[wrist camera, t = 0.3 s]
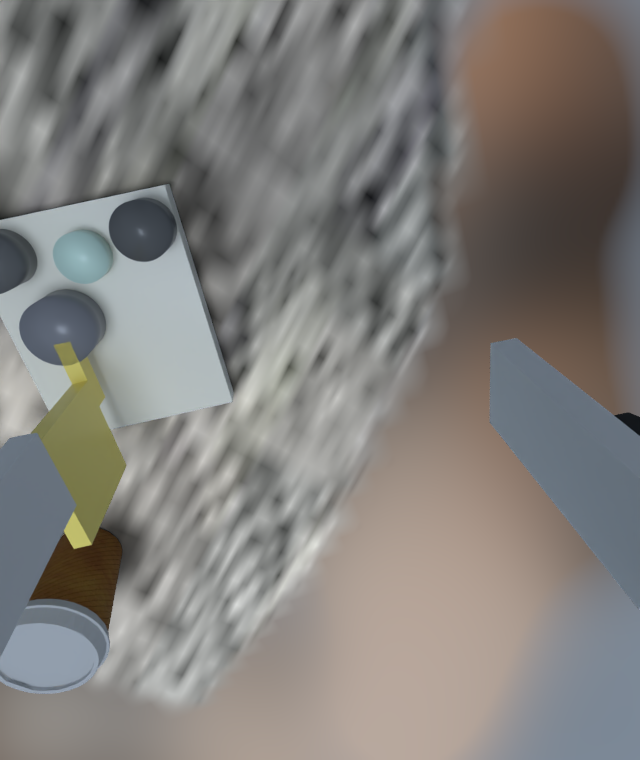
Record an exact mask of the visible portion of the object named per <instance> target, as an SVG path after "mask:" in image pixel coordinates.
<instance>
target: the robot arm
mask: <svg viewBox="0 0 640 760" xmlns="http://www.w3.org/2000/svg"><path fill="white" fill-rule="evenodd" d="M490 423H491V425H492V426H493V427H494V428H495V430H496V431H497V432H498V433H499V435H500V436H501V437H502V438H503V440H504V441H505V442H506V444H507V445H508V446H509V447H510V449H511V450H512V451H513V452H514V454H515V455H516V456H517V457H518V459H519V460H520V461H521V462H522V463H523V465H524V466H525V467H526V469H527V470H528V471H529V472H530V473H531V475H532V476H533V477H534V479H535V480H536V481H537V482H538V484H539V485H540V486H541V487H542V489H543V490H544V491H545V492H546V494H547V495H548V496H549V497H550V499H551V500H552V501H553V503H554V504H555V505H556V506H557V508H558V509H559V510H560V511H561V513H562V514H563V515H564V516H565V518H566V519H567V520H568V521H569V523H570V524H571V525H572V526H573V528H574V529H575V530H576V531H577V533H578V534H579V535H580V536H581V538H582V539H583V540H584V541H585V543H586V544H587V545H588V547H589V548H590V549H591V550H592V552H593V553H594V554H595V555H596V557H597V558H598V559H599V560H600V562H601V563H602V564H603V565H604V566H605V568H606V569H607V570H608V572H609V573H610V574H611V575H612V577H613V578H614V579H615V580H616V582H617V583H618V584H619V585H620V587H621V588H622V589H623V590H624V592H625V593H626V594H627V595H628V597H629V598H630V599H631V600H632V602H633V603H634V604H635V605H636V607H637V608H638V609H639V610H640V417H638V416H636V415H633V414H631V413H623V414H618V415H613V414H611V413H610V412H609V411H608V410H606V409H605V408H604V407H603V406H601V405H600V404H599V403H598V402H596V401H595V400H594V399H592V398H591V397H590V396H589V395H587V394H586V393H585V392H584V391H582V390H581V389H580V388H579V387H577V386H576V385H575V384H573V383H572V382H571V381H570V380H569V379H567V378H566V377H565V376H563V375H562V374H561V373H559V372H558V371H557V370H556V369H555V368H553V367H552V366H551V365H550V364H548V363H547V362H546V361H544V360H543V359H542V358H541V357H540V356H538V355H537V354H536V353H534V352H533V351H532V350H531V349H529V348H528V347H527V346H526V345H524V344H523V343H522V342H521V341H519V340H518V339H517V338H515V339H510V340H505V341H500V342H495V343H491V353H490ZM76 506H77V505H76V503H75V501H74V499H73V498H72V496H71V494H70V492H69V490H68V488H67V487H66V485H65V483H64V481H63V479H62V478H61V476H60V474H59V472H58V470H57V468H56V467H55V465H54V463H53V461H52V459H51V457H50V456H49V454H48V452H47V450H46V448H45V446H44V445H43V443H42V441H41V439H40V437H39V435H38V434H37V433H33V434H28V435H22V436H17V437H12V438H9V440H8V441H7V442H6V443H5V444H4V446H3V447H2V448H1V449H0V657H1V655H2V653H3V651H4V649H5V647H6V645H7V643H8V641H9V639H10V637H11V635H12V633H13V631H14V629H15V627H16V625H17V623H18V621H19V619H20V617H21V615H22V613H23V611H24V609H25V607H26V605H27V603H28V601H29V599H30V597H31V595H32V593H33V591H34V589H35V587H36V585H37V583H38V581H39V579H40V577H41V575H42V573H43V571H44V569H45V567H46V565H47V563H48V561H49V559H50V557H51V555H52V553H53V551H54V549H55V547H56V545H57V543H58V541H59V539H60V537H61V535H62V533H63V531H64V529H65V527H66V525H67V523H68V521H69V520H70V518H71V516H72V514H73V512H74V510H75V508H76Z"/></svg>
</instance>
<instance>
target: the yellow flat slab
mask: <svg viewBox="0 0 640 760" xmlns="http://www.w3.org/2000/svg"><path fill="white" fill-rule="evenodd" d="M105 330H106V321H105V317H104V314H103V312H102V310H101V308H100V307H99V305H98V304H97V303H96V302H95V301H94V300H93V299H91V298H90V297H89V296H87V295H85V294H83V293H81V292H78V291H75V290H68V289H63V290H57V291H54V292H52V293H50V294H48V295H46V296H45V297H43V298H42V299H40V300H38V301H37V302H35V303H34V304H32V305H30V306H29V307H28V308H27V309H26V310H25V311H24V312H23V314H22V316H21V319H20V323H19V331H20V336H21V338H22V341H23V343H24V344H25V346H26V347H27V349H28V350H29V351H30V352H31V353H32V354H33V355H35V356H36V357H37V358H39V359H41V360H42V361H44V362H47V363H50V364H53V365H60V366H64V368H65V371H66V373H67V375H68V377H69V379H70V381H71V383H72V385H71V386H70V387H69V389H68V390H67V391H66V392H65V393H64V394H63V396H62V397H61V398H60V399H59V400H58V402H57V403H56V404H55V405H54V406H53V408H52V409H51V410H50V411H49V412H48V413H47V415H46V416H45V417H44V418H43V419H42V421H41V422H40V423H39V424H38V425H37V427H36V428H35V429H34V430H33V431H32V432H31V434H33V433H37V434H38V435H39V437H40V439H41V441H42V443H43V445H44V446H45V448H46V450H47V452H48V454H49V456H50V457H51V459H52V461H53V463H54V465H55V467H56V468H57V470H58V472H59V474H60V476H61V478H62V479H63V481H64V483H65V485H66V487H67V488H68V490H69V492H70V494H71V496H72V498H73V499H74V501H75V503H76V505H77V506H76V508H75V510H74V512H73V514H72V516H71V518H70V520H69V521H68V523H67V525H66V527H65V529H64V533H65V534H66V536H67V538H68V540H69V541H70V543H71V545H72V547H73V548H74V549H76V548H80V547H84V546H89V545H92V543H93V541H94V539H95V536H96V534H97V532H98V530H99V527H100V525H101V523H102V520H103V518H104V516H105V514H106V511H107V509H108V507H109V504H110V502H111V500H112V497H113V495H114V493H115V491H116V488H117V486H118V484H119V481H120V479H121V477H122V475H123V472H124V470H125V468H126V463H125V461H124V459H123V457H122V455H121V452H120V450H119V448H118V446H117V444H116V441H115V439H114V437H113V435H112V433H111V431H110V428H109V426H108V424H107V422H106V420H105V417H104V415H103V413H102V411H101V409H100V407H99V406H100V404H101V403H102V401H103V400H104V398H105V395H104V393H103V391H102V388H101V386H100V384H99V382H98V379H97V377H96V375H95V373H94V370H93V368H92V366H91V364H90V361H89V359H88V357H87V356H88V355H89V354H90V352H91V351H92V350H93V349H94V348H95V347H96V346H97V344H98V343H99V342H100V341H101V340H102V338H103V336H104V334H105Z"/></svg>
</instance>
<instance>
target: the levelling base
mask: <svg viewBox="0 0 640 760" xmlns="http://www.w3.org/2000/svg"><path fill="white" fill-rule="evenodd" d="M63 289H68V290H75V291H78V292H81V293H83V294H85V295H87V296H89V297H90V298H91V299H93V300H94V301H95V302H96V303H97V304H98V305H99V307H100V308H101V310H102V312H103V314H104V317H105V321H106V330H105V334H104V336H103V338H102V340H101V341H100V342H99V343H98V344H97V346H96V347H95V348H94V349H93V350H92V351H91V352H90V354H89V355H88V356H87V357H88V359H89V361H90V364H91V366H92V368H93V370H94V373H95V375H96V377H97V379H98V382H99V384H100V386H101V388H102V391H103V393H104V395H105V398H104V400H103V401H102V403H101V404H100V406H99V407H100V409H101V411H102V413H103V415H104V417H105V420H106V422H107V424H108V426H109V428H110V430H111V429H116V428H120V427H124V426H129V425H133V424H138V423H142V422H146V421H151V420H155V419H160V418H164V417H168V416H173V415H177V414H182V413H186V412H190V411H195V410H199V409H204V408H208V407H212V406H217V405H221V404H225V403H230V402H233V393H234V392H233V388H232V385H231V382H230V379H229V375H228V372H227V369H226V366H225V362H224V359H223V356H222V353H221V349H220V346H219V343H218V340H217V336H216V333H215V330H214V327H213V324H212V320H211V317H210V314H209V311H208V307H207V304H206V301H205V298H204V294H203V291H202V288H201V285H200V281H199V278H198V275H197V272H196V268H195V265H194V262H193V259H192V256H191V252H190V249H189V246H188V243H187V239H186V236H185V233H184V230H183V226H182V223H181V220H180V217H179V213H178V210H177V207H176V204H175V201H174V197H173V194H172V191H171V188H170V184H166V185H161V186H157V187H152V188H147V189H143V190H138V191H133V192H129V193H124V194H119V195H115V196H110V197H105V198H101V199H96V200H91V201H87V202H82V203H77V204H73V205H68V206H63V207H59V208H54V209H49V210H45V211H40V212H35V213H31V214H26V215H21V216H17V217H12V218H7V219H3V220H0V317H1V319H2V321H3V323H4V325H5V326H6V328H7V330H8V332H9V334H10V336H11V338H12V340H13V342H14V344H15V346H16V348H17V350H18V352H19V354H20V356H21V358H22V359H23V361H24V363H25V365H26V367H27V369H28V371H29V373H30V375H31V377H32V379H33V381H34V383H35V385H36V387H37V389H38V391H39V392H40V394H41V396H42V398H43V400H44V402H45V404H46V406H47V408H48V410H49V411H50V410H51V409H52V408H53V406H54V405H55V404H56V403H57V402H58V400H59V399H60V398H61V397H62V396H63V394H64V393H65V392H66V391H67V390H68V389H69V387H70V386H71V385H72V383H71V381H70V379H69V377H68V375H67V373H66V371H65V368H64V366H60V365H53V364H50V363H47V362H44V361H42V360H41V359H39V358H37V357H36V356H35V355H33V354H32V353H31V352H30V351H29V350H28V349H27V347H26V346H25V344H24V343H23V341H22V338H21V336H20V331H19V323H20V319H21V316H22V314H23V312H24V311H25V310H26V309H27V308H28V307H29V306H30V305H32V304H34V303H35V302H37V301H38V300H40V299H42V298H43V297H45V296H46V295H48V294H50V293H52V292H54V291H57V290H63Z"/></svg>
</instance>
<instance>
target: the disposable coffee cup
mask: <svg viewBox="0 0 640 760" xmlns="http://www.w3.org/2000/svg"><path fill="white" fill-rule="evenodd" d="M121 556H122V547H121V544H120V542H119V541H118V539H117V538H116V537H115V536H114V535H112V534H111V533H109V532H107V531H105V530H103V529H100V528H99V530H98V532H97V534H96V536H95V539H94V541H93V543H92V545H89V546H84V547H80V548H76V549H74V548H73V547H72V545H71V543H70V541H69V540H68V538H67V536H66V534H64V535H63V536H62V537H61V539H60V540H59V541H58V543H57V545H56V547H55V549H54V551H53V553H52V555H51V557H50V559H49V561H48V563H47V565H46V567H45V569H44V571H43V573H42V575H41V577H40V579H39V581H38V583H37V585H36V587H35V589H34V591H33V593H32V595H31V597H30V599H29V601H28V603H27V605H26V607H25V609H24V611H23V613H22V615H21V617H20V619H19V621H18V623H17V625H16V627H15V629H14V631H13V633H12V635H11V637H10V639H9V641H8V643H7V645H6V647H5V649H4V651H3V653H2V655H1V657H0V681H1V682H3V683H4V684H5V685H7V686H10V687H12V688H14V689H17V690H21V691H25V692H30V693H40V694H49V693H59V692H64V691H68V690H71V689H74V688H77V687H79V686H81V685H82V684H84V683H86V682H87V681H88V680H89V679H90V678H92V676H93V675H94V674H95V672H96V671H97V669H98V668H99V667H100V666H101V665H102V664H103V663H104V661H105V660H106V658H107V656H108V652H109V648H110V641H109V633H108V629H109V624H110V618H111V612H112V606H113V600H114V595H115V590H116V584H117V579H118V573H119V568H120V562H121Z"/></svg>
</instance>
